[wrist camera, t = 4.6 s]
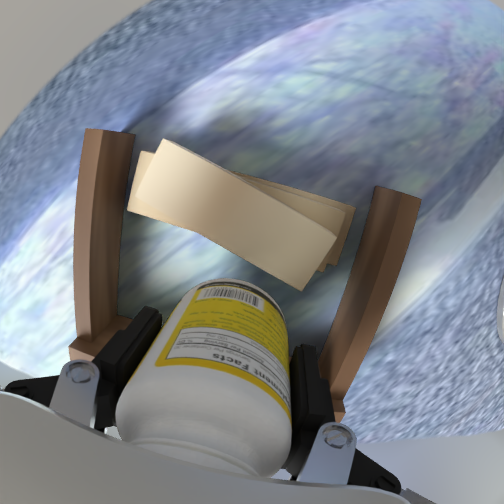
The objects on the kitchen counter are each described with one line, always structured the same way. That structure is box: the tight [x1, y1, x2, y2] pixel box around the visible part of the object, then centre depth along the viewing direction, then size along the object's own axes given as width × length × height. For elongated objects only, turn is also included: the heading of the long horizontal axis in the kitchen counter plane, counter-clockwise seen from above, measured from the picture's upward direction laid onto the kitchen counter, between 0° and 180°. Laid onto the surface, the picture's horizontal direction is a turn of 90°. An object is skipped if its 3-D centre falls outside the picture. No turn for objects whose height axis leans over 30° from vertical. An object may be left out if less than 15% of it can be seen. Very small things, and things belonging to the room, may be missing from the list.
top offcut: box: [135, 139, 337, 292], centre depth 13 cm, size 8×3×1 cm, turn 60°
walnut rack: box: [68, 128, 422, 423], centre depth 14 cm, size 15×12×4 cm
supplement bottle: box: [115, 278, 292, 478], centre depth 10 cm, size 5×5×10 cm
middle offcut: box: [127, 151, 346, 272], centre depth 14 cm, size 10×3×1 cm, turn 73°
